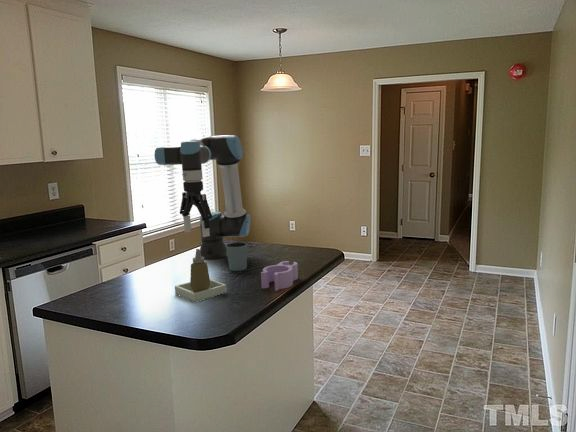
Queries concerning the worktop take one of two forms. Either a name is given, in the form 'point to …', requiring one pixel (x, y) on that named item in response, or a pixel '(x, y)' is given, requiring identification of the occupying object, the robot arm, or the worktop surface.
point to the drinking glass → (237, 255)
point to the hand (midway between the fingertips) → (196, 234)
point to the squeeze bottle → (199, 274)
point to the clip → (279, 275)
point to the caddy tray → (188, 293)
